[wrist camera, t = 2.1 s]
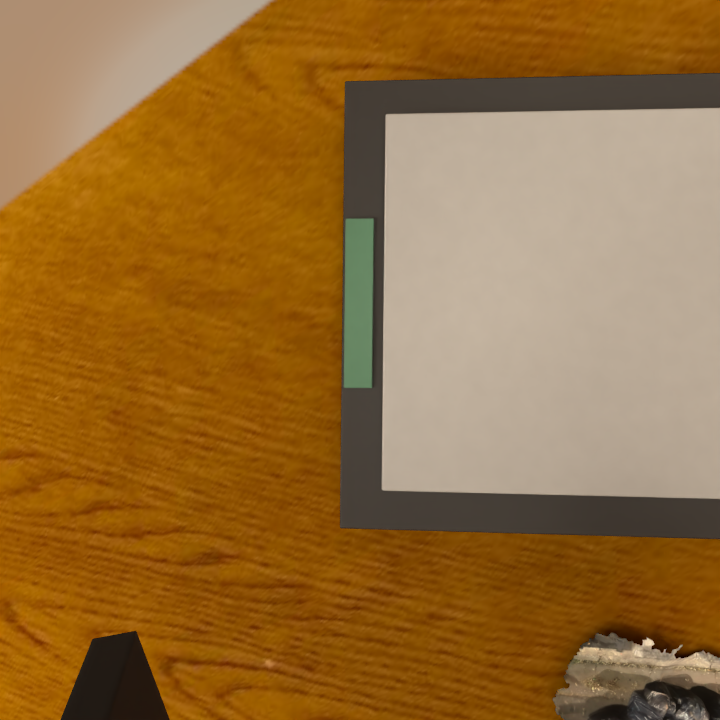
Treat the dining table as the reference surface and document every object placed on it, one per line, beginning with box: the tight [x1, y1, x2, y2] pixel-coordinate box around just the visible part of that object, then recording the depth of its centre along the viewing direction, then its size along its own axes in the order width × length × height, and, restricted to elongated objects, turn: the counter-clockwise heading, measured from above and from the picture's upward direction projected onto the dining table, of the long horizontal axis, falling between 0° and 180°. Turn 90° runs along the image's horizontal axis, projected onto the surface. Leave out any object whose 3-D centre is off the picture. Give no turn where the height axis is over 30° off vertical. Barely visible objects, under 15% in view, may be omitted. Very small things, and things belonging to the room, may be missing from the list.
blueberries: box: [553, 633, 720, 720], centre depth 25 cm, size 7×8×2 cm
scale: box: [340, 73, 720, 539], centre depth 25 cm, size 16×16×4 cm
